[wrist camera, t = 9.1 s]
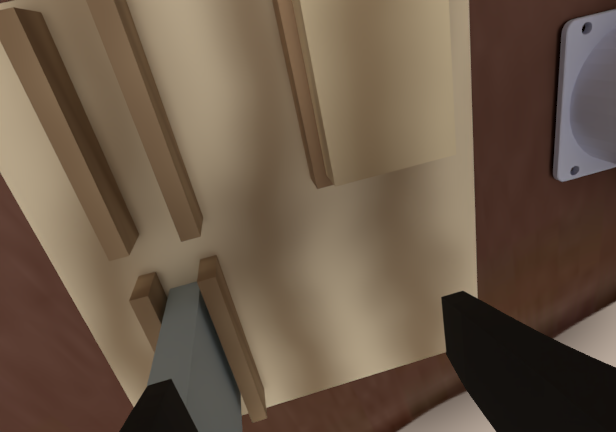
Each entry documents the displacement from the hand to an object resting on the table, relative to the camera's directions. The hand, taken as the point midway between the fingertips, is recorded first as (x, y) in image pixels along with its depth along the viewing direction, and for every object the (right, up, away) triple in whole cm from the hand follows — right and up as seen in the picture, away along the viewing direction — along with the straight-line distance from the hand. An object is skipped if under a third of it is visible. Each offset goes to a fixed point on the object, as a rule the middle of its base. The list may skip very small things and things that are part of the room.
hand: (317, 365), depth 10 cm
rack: (-2, +4, +9) cm, 10 cm away
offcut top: (+2, +9, +5) cm, 11 cm away
